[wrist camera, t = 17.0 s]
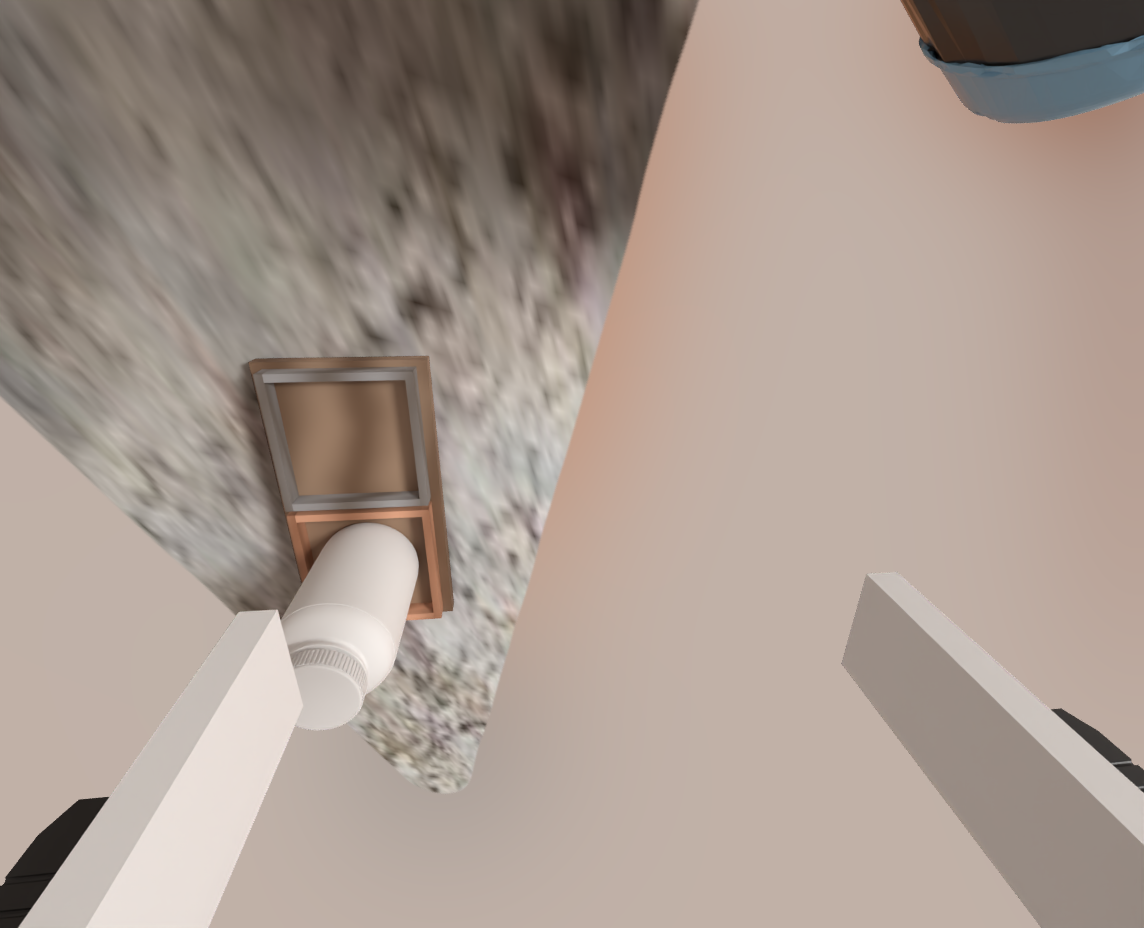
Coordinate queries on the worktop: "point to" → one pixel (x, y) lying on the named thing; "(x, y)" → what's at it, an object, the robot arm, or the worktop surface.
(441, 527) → the compartment tray
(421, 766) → the worktop surface
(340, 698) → the pill bottle
